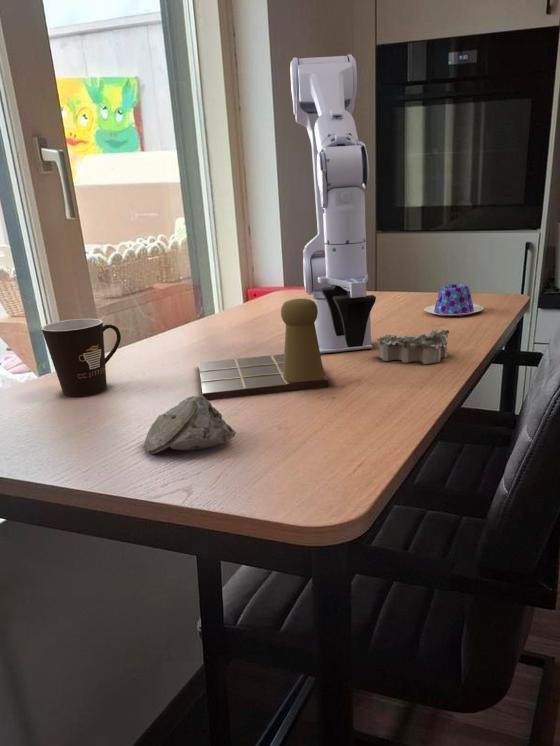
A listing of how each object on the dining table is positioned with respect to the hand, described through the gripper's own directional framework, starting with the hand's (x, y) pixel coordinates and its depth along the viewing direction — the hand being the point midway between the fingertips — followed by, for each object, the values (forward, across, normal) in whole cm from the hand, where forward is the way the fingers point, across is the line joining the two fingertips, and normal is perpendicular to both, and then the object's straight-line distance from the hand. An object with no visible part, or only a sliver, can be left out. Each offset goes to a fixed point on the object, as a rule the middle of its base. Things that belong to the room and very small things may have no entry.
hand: (348, 340), depth 102 cm
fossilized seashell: (+6, +20, -24) cm, 32 cm away
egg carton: (+6, -8, +12) cm, 16 cm away
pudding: (+6, -40, +31) cm, 51 cm away
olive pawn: (+5, 0, -7) cm, 8 cm away
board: (+6, -6, -13) cm, 15 cm away
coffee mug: (+6, -9, -38) cm, 39 cm away
